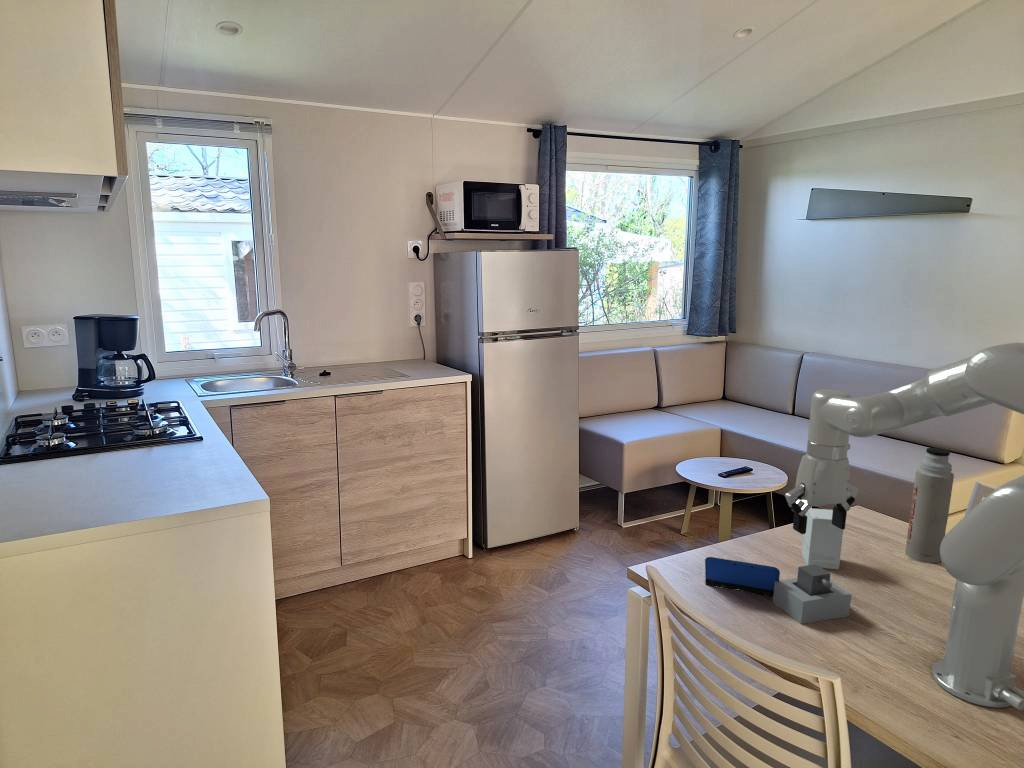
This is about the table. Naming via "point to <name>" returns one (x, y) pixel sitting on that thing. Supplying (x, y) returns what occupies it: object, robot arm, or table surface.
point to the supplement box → (821, 540)
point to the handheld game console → (741, 576)
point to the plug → (813, 580)
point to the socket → (811, 602)
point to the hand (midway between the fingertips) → (818, 529)
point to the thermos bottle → (930, 506)
